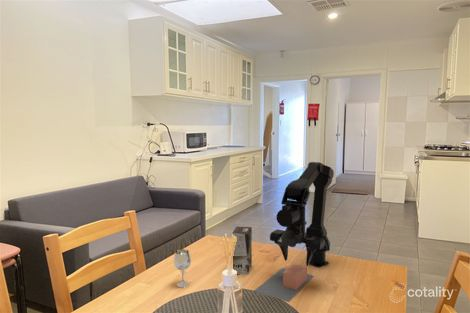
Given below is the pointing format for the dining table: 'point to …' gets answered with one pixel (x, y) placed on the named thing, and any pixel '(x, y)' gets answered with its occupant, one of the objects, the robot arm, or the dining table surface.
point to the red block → (294, 276)
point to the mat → (279, 287)
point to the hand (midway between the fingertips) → (296, 262)
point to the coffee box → (243, 250)
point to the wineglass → (182, 264)
